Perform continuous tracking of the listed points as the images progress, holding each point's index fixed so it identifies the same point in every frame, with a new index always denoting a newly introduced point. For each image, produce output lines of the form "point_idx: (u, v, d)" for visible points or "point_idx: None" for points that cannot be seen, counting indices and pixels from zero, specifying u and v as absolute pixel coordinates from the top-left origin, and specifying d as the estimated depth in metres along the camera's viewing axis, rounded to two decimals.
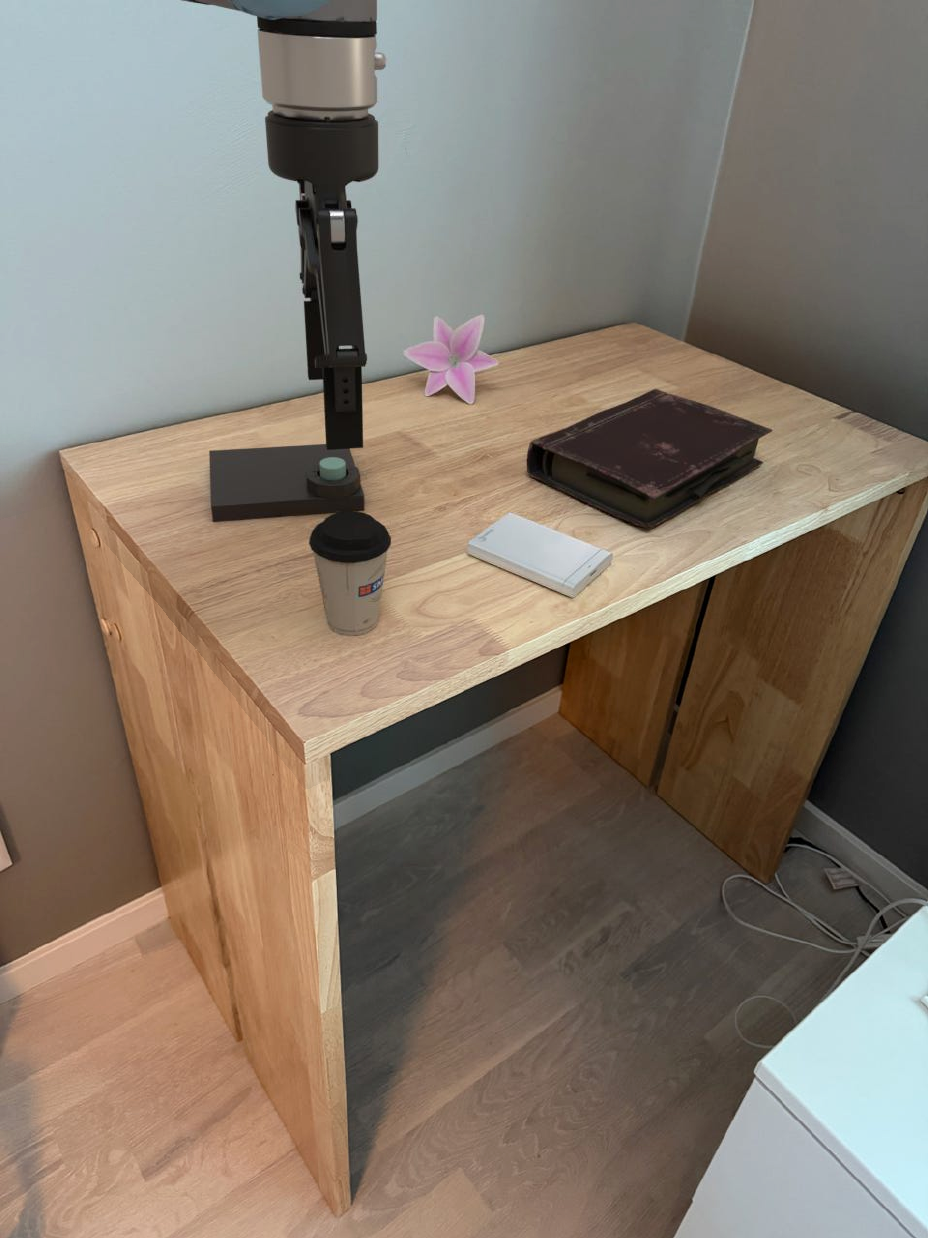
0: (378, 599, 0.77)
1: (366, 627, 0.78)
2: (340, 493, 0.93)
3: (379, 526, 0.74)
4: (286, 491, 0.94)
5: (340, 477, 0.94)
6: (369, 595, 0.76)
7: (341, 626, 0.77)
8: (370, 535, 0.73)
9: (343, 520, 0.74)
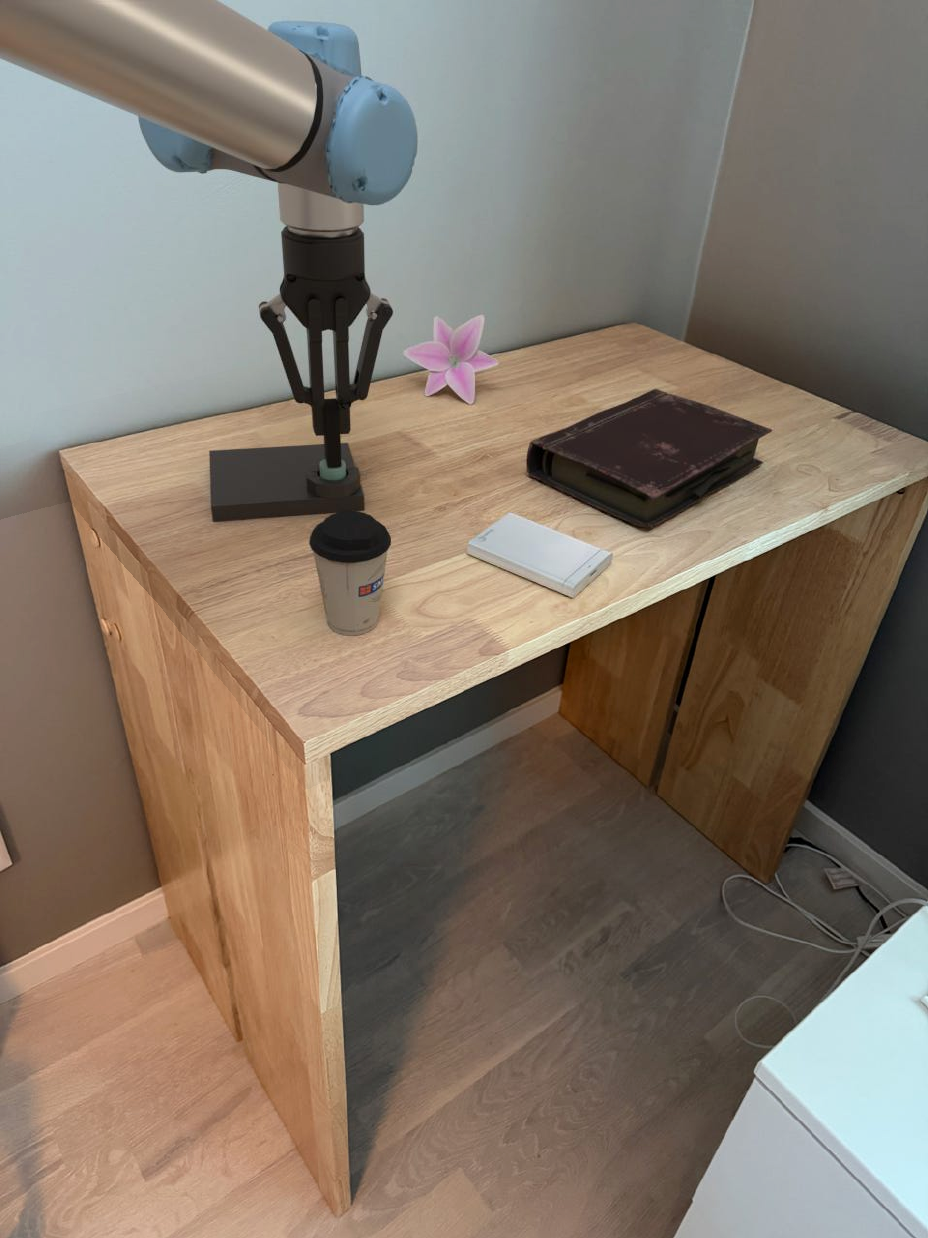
0: (378, 599, 0.77)
1: (366, 627, 0.78)
2: (340, 493, 0.93)
3: (379, 526, 0.74)
4: (286, 491, 0.94)
5: (340, 478, 0.94)
6: (369, 595, 0.76)
7: (341, 626, 0.77)
8: (370, 535, 0.73)
9: (343, 520, 0.74)
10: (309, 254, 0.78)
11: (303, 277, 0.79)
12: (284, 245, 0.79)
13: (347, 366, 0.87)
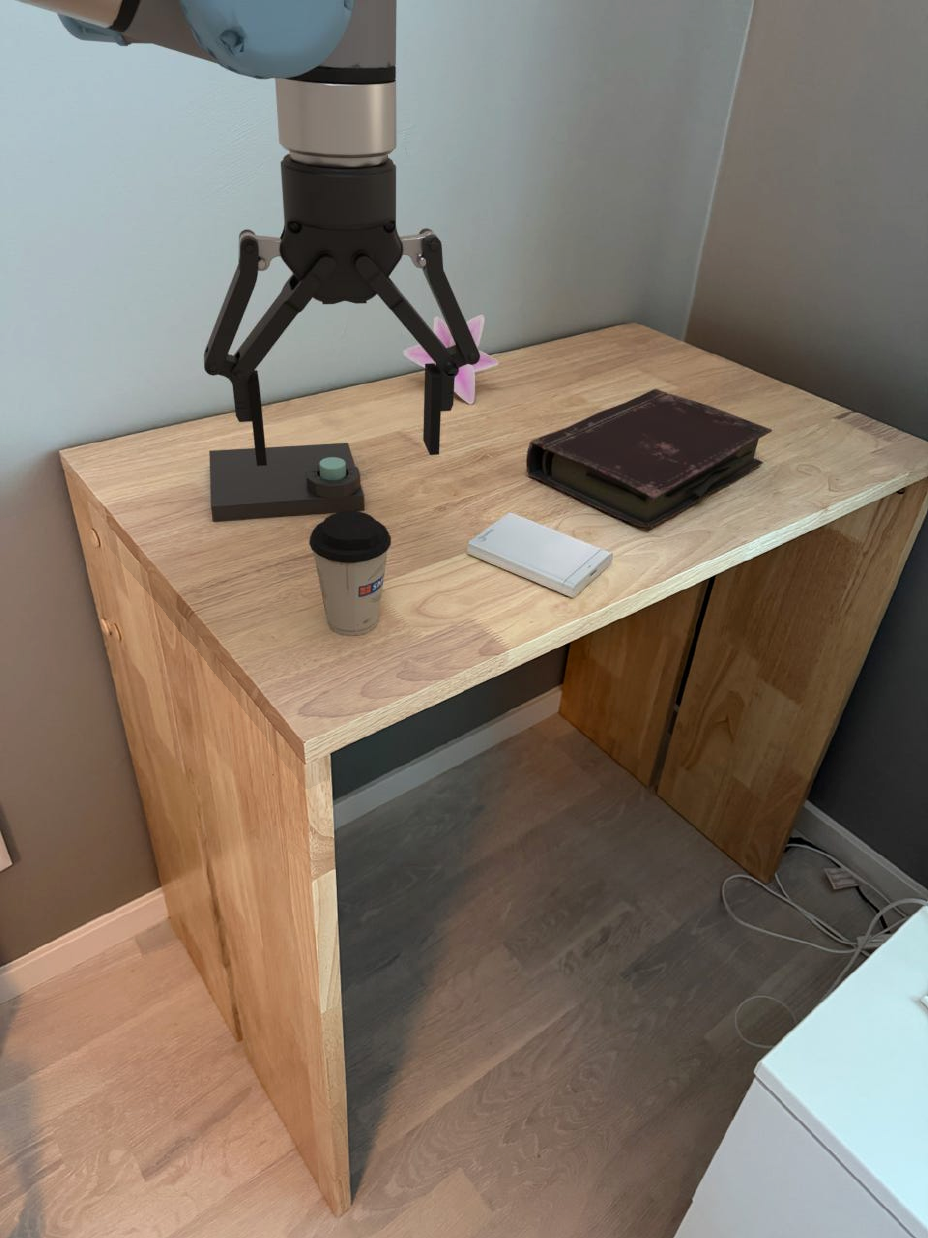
0: (378, 599, 0.77)
1: (366, 627, 0.78)
2: (340, 493, 0.93)
3: (379, 526, 0.74)
4: (286, 491, 0.94)
5: (340, 477, 0.94)
6: (369, 595, 0.76)
7: (341, 626, 0.77)
8: (370, 535, 0.73)
9: (343, 520, 0.74)
10: (320, 190, 0.55)
11: (311, 225, 0.57)
12: (285, 179, 0.56)
13: (423, 326, 0.64)
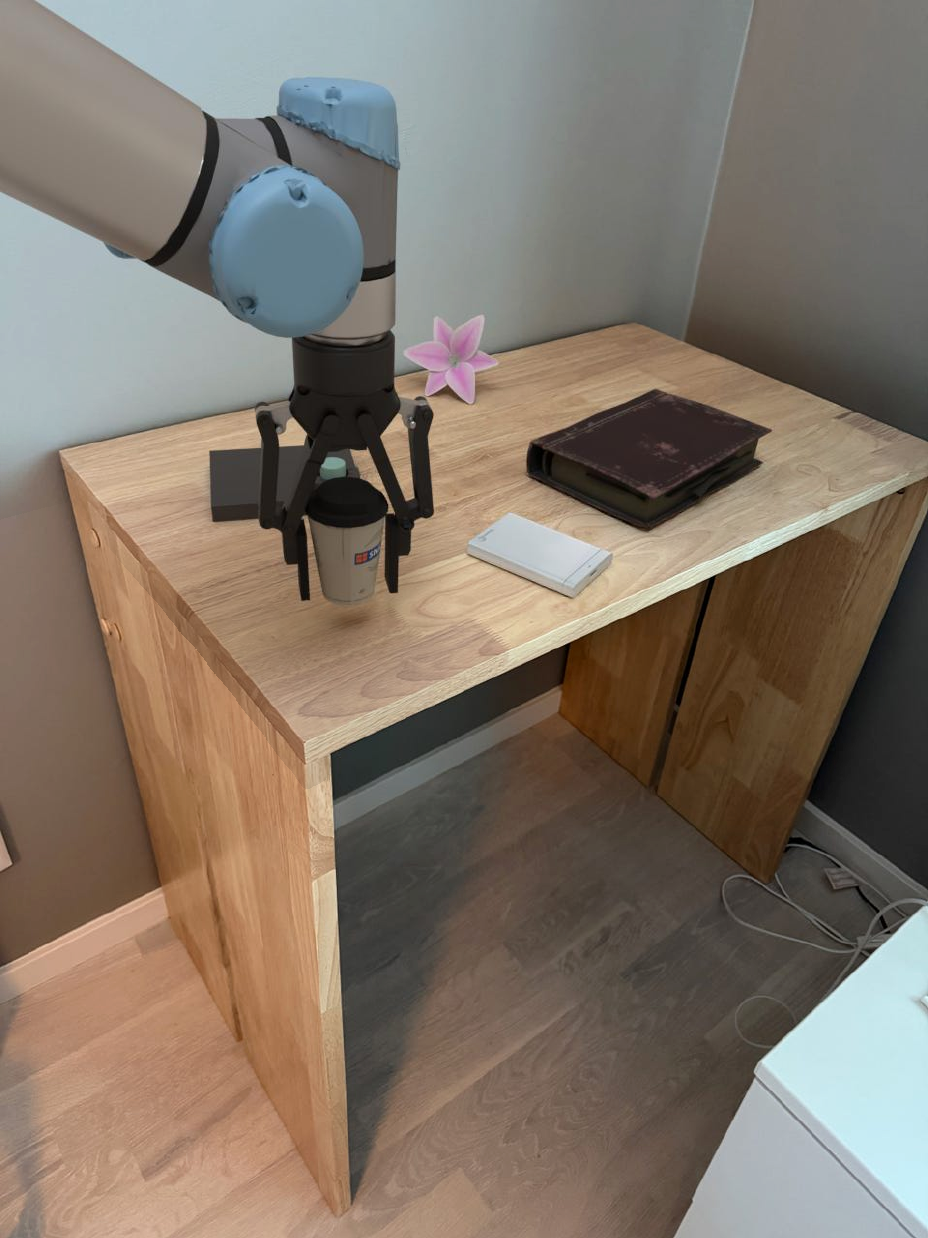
0: (375, 568, 0.75)
1: (362, 597, 0.76)
2: None
3: (376, 491, 0.72)
4: (286, 491, 0.94)
5: None
6: (366, 563, 0.73)
7: (336, 595, 0.75)
8: (367, 500, 0.71)
9: (339, 486, 0.72)
10: (327, 366, 0.62)
11: (318, 392, 0.63)
12: (295, 352, 0.63)
13: (396, 482, 0.71)
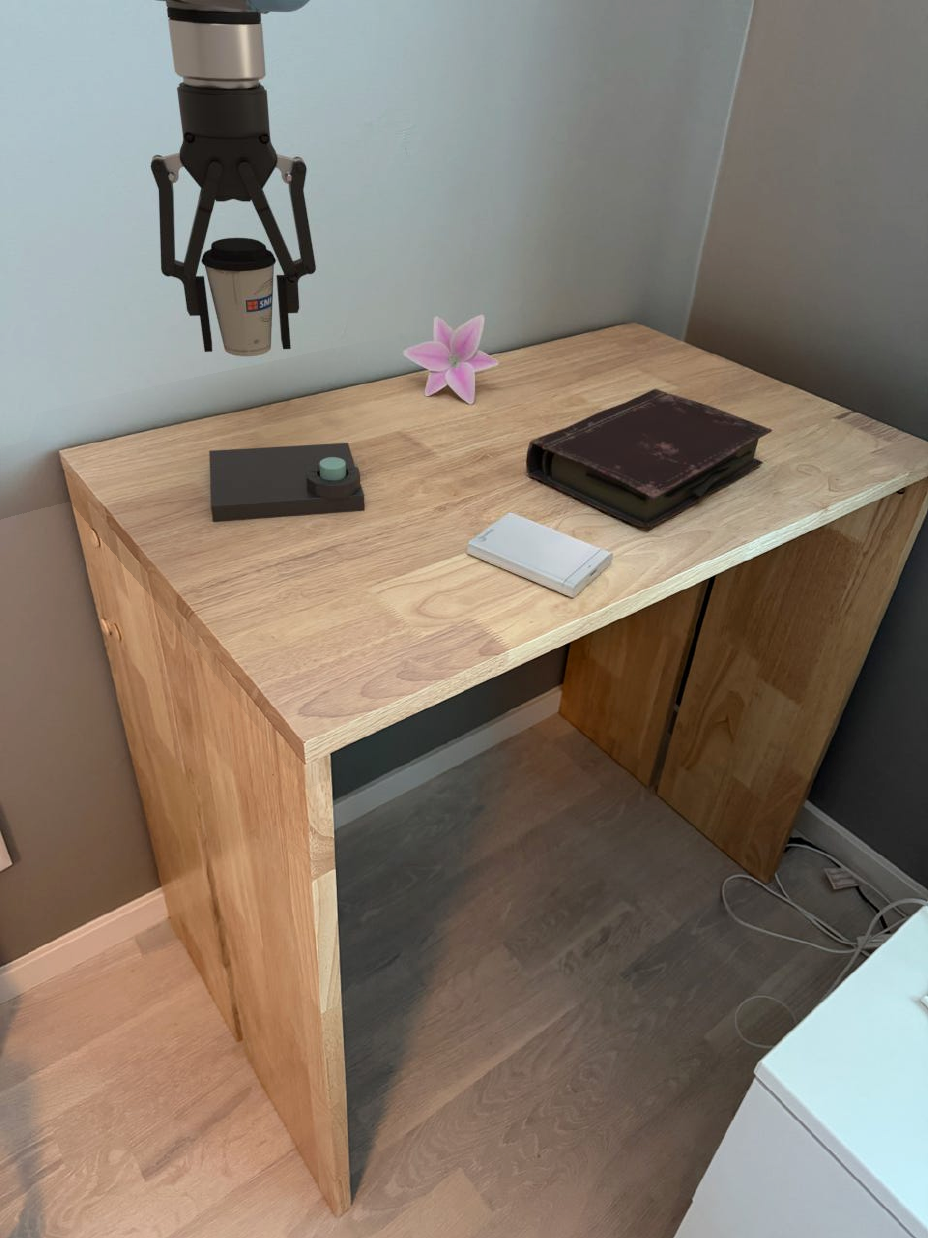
0: (267, 321, 0.86)
1: (257, 348, 0.87)
2: (340, 493, 0.93)
3: (263, 245, 0.83)
4: (286, 491, 0.94)
5: (340, 477, 0.94)
6: (257, 312, 0.85)
7: (234, 345, 0.87)
8: (253, 249, 0.82)
9: (232, 241, 0.84)
10: (204, 106, 0.73)
11: (200, 134, 0.75)
12: (179, 99, 0.74)
13: (279, 235, 0.82)
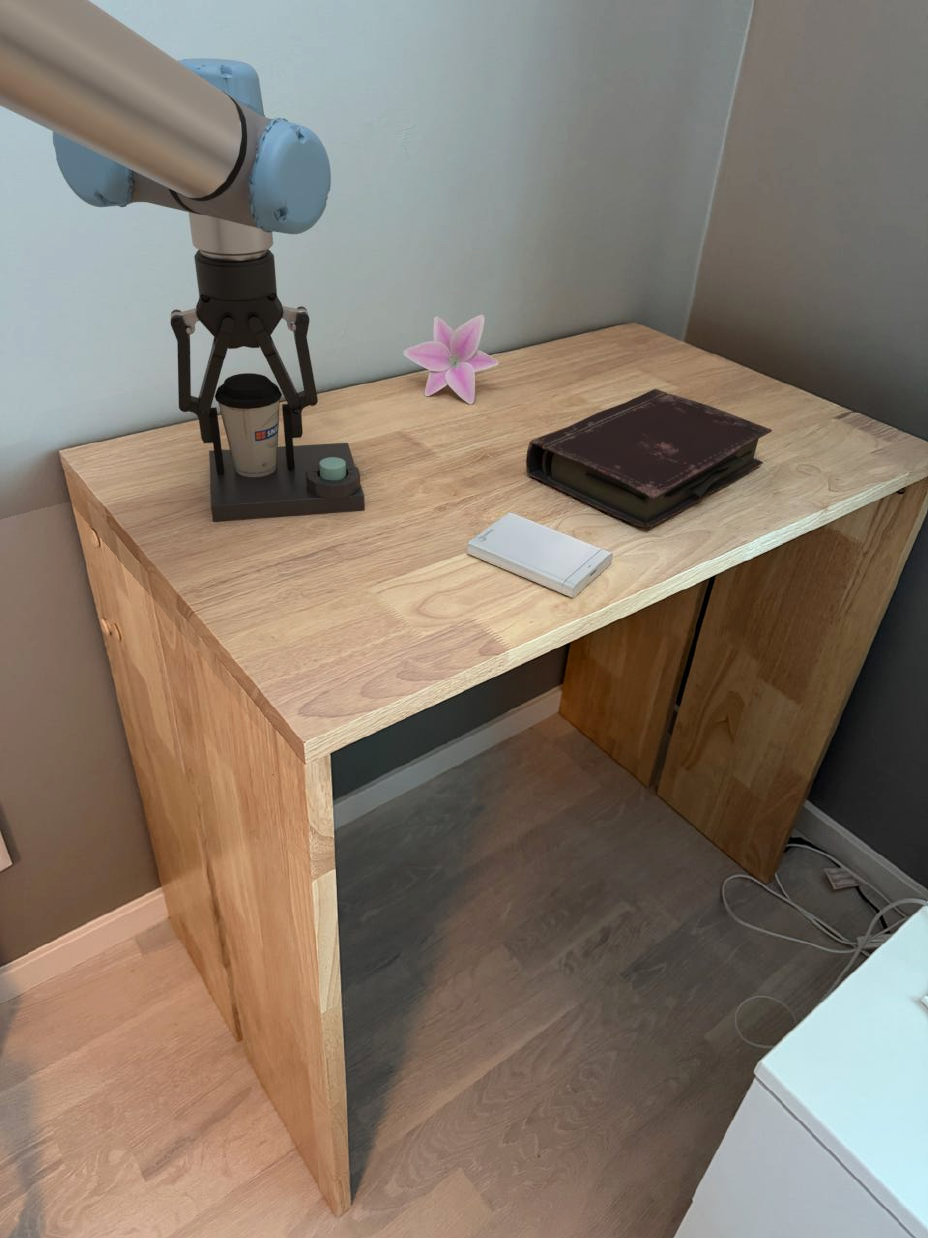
0: (273, 446, 0.96)
1: (265, 470, 0.96)
2: (340, 493, 0.93)
3: (270, 382, 0.92)
4: (286, 491, 0.94)
5: (340, 477, 0.94)
6: (265, 440, 0.94)
7: (244, 468, 0.96)
8: (262, 388, 0.91)
9: (242, 379, 0.93)
10: (219, 276, 0.82)
11: (215, 298, 0.84)
12: (197, 267, 0.84)
13: (285, 375, 0.92)
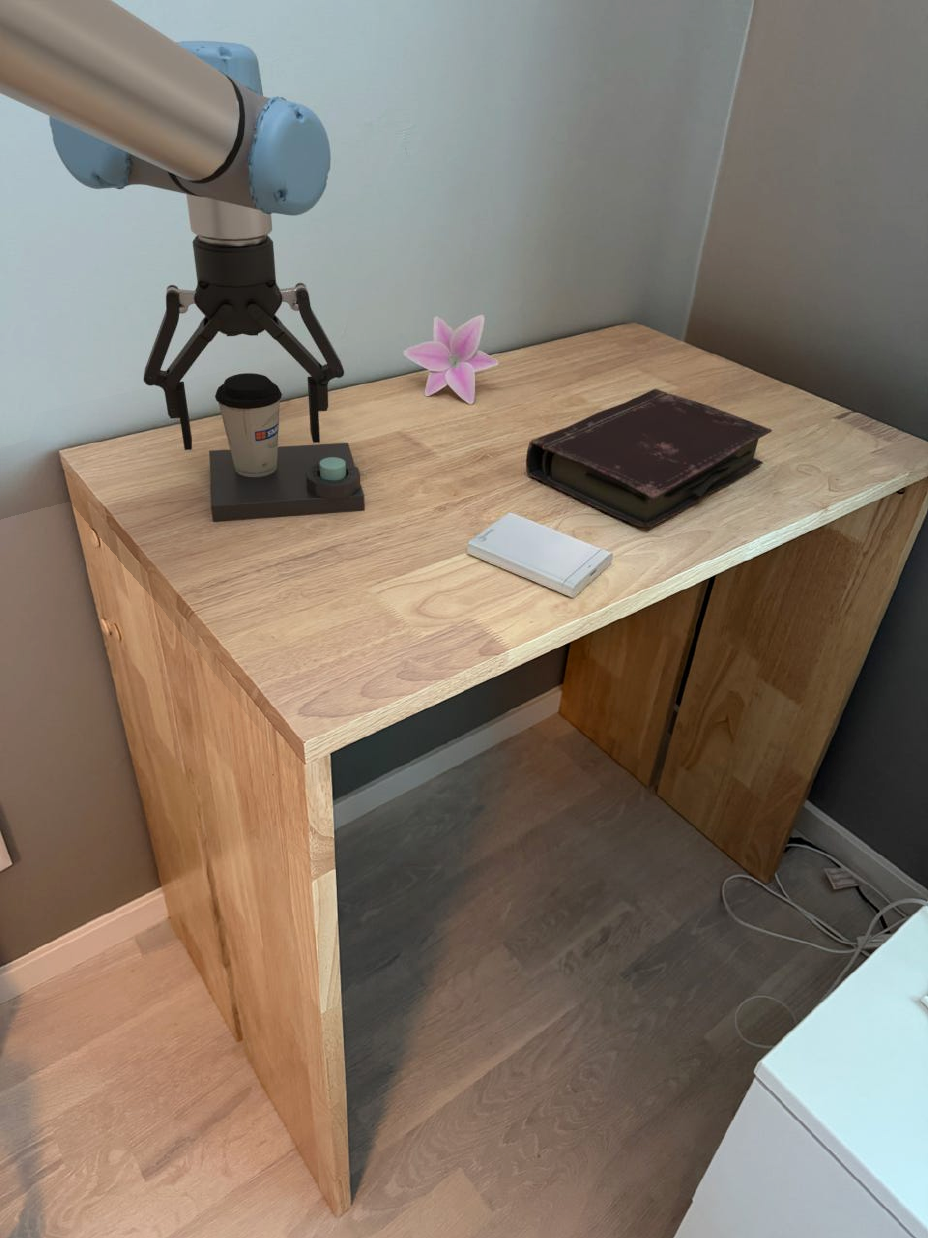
0: (274, 446, 0.96)
1: (265, 470, 0.96)
2: (340, 493, 0.93)
3: (271, 382, 0.92)
4: (286, 491, 0.94)
5: (340, 477, 0.94)
6: (265, 441, 0.94)
7: (244, 468, 0.96)
8: (262, 388, 0.91)
9: (242, 379, 0.93)
10: (217, 262, 0.82)
11: (213, 284, 0.83)
12: (195, 253, 0.83)
13: (300, 351, 0.91)
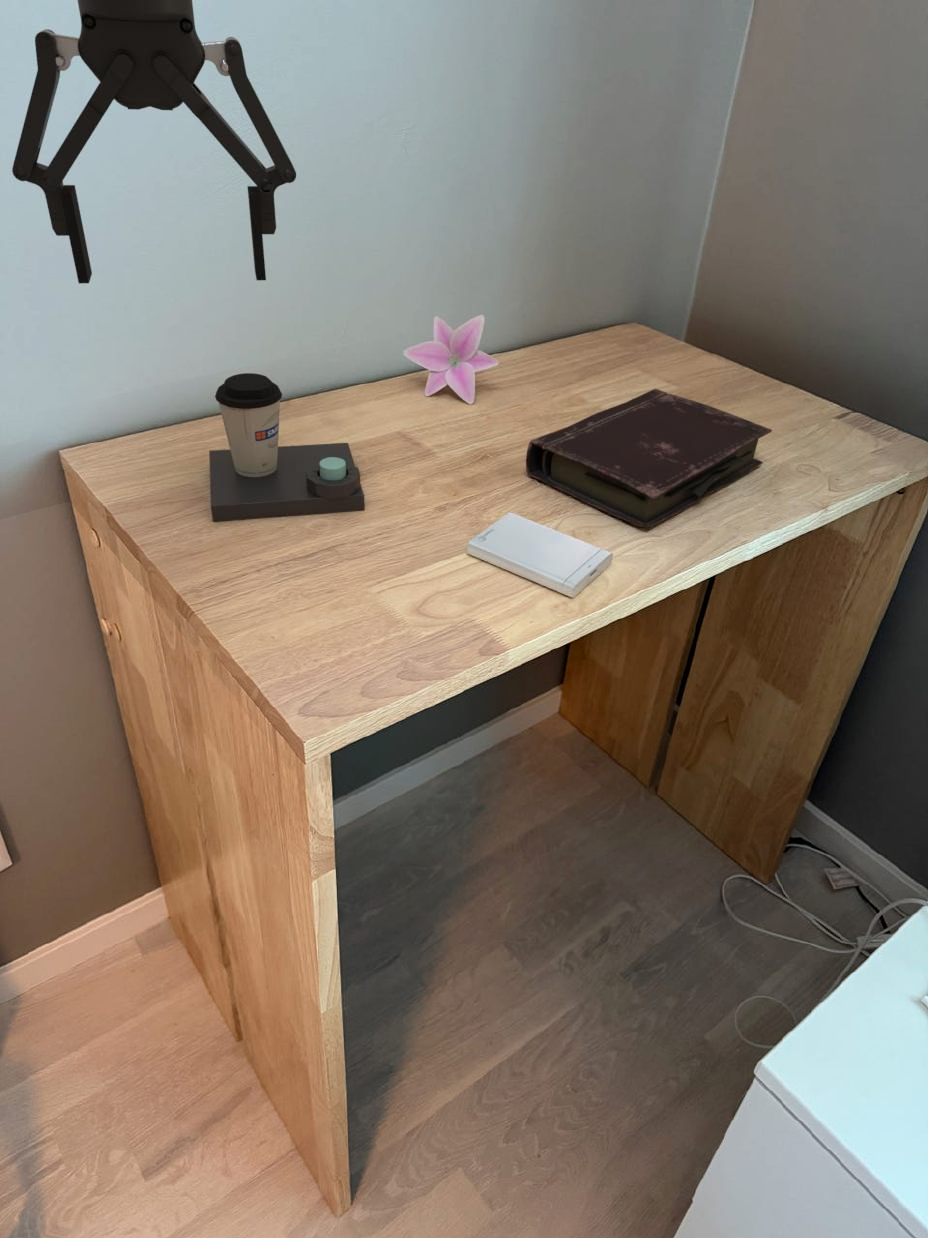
0: (274, 446, 0.96)
1: (265, 470, 0.96)
2: (340, 493, 0.93)
3: (271, 382, 0.92)
4: (286, 491, 0.94)
5: (340, 477, 0.94)
6: (265, 441, 0.94)
7: (244, 468, 0.96)
8: (262, 388, 0.91)
9: (242, 379, 0.93)
10: None
11: (100, 15, 0.58)
12: None
13: (234, 138, 0.65)
